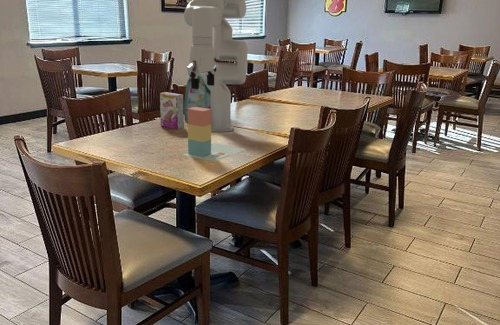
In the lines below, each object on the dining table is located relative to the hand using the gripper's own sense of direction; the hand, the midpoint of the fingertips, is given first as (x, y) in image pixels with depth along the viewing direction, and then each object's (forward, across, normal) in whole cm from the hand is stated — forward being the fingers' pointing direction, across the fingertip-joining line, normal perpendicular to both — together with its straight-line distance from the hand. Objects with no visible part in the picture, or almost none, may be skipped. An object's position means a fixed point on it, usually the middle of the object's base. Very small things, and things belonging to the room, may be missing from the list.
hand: (203, 87), depth 178 cm
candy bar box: (+27, -23, -37) cm, 51 cm away
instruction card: (+26, +2, +9) cm, 27 cm away
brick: (+14, +5, +2) cm, 14 cm away
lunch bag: (+28, -48, -36) cm, 66 cm away
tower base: (+26, +5, +2) cm, 26 cm away
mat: (+26, -1, +5) cm, 27 cm away
